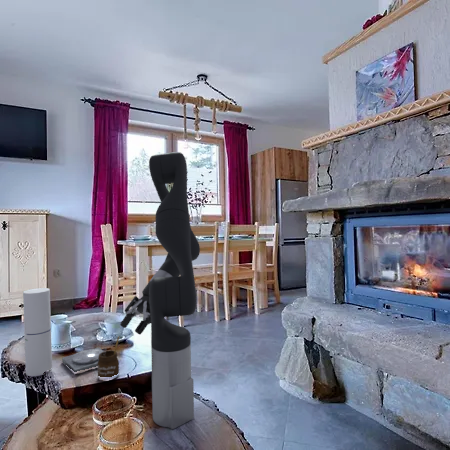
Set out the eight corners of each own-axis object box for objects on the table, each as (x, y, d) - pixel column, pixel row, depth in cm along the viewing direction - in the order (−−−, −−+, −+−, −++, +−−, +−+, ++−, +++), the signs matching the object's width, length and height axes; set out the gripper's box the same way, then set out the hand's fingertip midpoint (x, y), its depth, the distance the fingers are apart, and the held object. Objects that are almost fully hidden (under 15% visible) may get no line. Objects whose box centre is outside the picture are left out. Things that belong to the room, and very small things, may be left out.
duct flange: (113, 362, 108) (113, 355, 108) (75, 375, 100) (74, 366, 100) (98, 351, 117) (98, 344, 117) (62, 362, 109) (62, 354, 109)
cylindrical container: (40, 377, 100) (38, 293, 99) (20, 375, 101) (17, 292, 100) (57, 366, 106) (54, 288, 106) (37, 364, 108) (35, 287, 107)
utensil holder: (100, 372, 102) (99, 333, 101) (121, 371, 102) (120, 332, 102) (95, 382, 96) (93, 341, 95) (117, 381, 97) (116, 340, 96)
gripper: (140, 277, 115) (109, 318, 107) (165, 283, 105) (134, 328, 97) (153, 290, 119) (125, 330, 111) (179, 296, 109) (150, 341, 101)
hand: (129, 329), depth 104 cm, fingers open, 8 cm apart
